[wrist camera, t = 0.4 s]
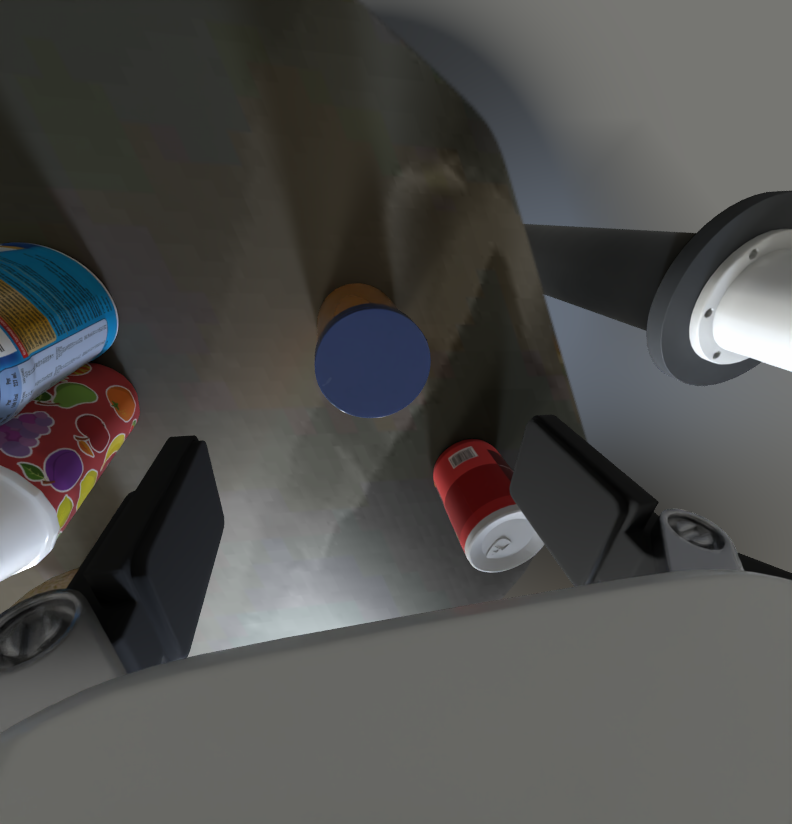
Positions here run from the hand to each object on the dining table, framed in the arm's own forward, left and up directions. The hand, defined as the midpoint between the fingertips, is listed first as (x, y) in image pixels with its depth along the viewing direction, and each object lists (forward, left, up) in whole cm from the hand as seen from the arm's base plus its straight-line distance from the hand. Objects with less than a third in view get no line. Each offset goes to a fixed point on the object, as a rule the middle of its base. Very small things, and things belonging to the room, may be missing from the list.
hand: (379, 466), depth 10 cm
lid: (-1, +2, -12) cm, 12 cm away
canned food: (-10, +20, -22) cm, 31 cm away
